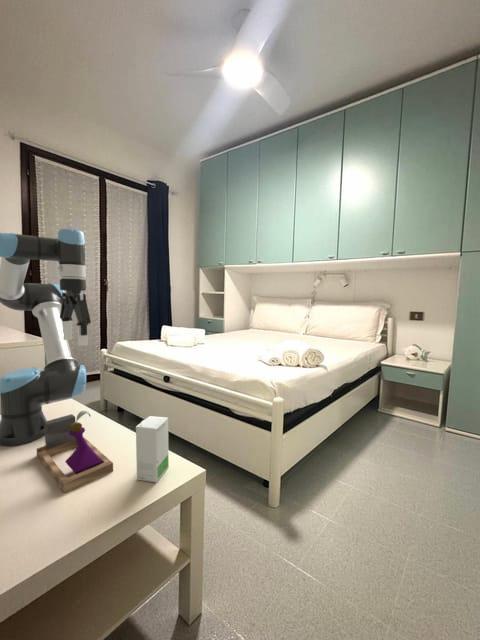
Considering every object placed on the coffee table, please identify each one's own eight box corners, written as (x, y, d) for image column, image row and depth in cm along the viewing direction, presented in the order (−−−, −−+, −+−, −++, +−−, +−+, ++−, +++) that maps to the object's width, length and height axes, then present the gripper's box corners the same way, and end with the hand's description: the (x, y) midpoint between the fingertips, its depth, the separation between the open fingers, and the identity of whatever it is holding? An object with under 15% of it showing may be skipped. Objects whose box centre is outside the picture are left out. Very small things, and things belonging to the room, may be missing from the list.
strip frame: (36, 456, 94) (35, 424, 92) (80, 441, 103) (79, 411, 102) (64, 492, 77) (62, 454, 76) (113, 471, 87) (112, 436, 86)
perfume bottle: (74, 483, 81) (72, 420, 79) (65, 471, 86) (62, 412, 84) (102, 471, 87) (101, 412, 85) (92, 461, 92) (90, 404, 90)
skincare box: (156, 483, 82) (156, 429, 80) (134, 480, 83) (133, 426, 81) (169, 466, 90) (169, 416, 88) (149, 463, 91) (149, 414, 90)
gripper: (47, 278, 103) (50, 338, 105) (74, 277, 86) (77, 349, 88) (71, 279, 108) (73, 336, 111) (101, 278, 92) (102, 346, 94)
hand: (75, 342), depth 100 cm, fingers open, 13 cm apart
